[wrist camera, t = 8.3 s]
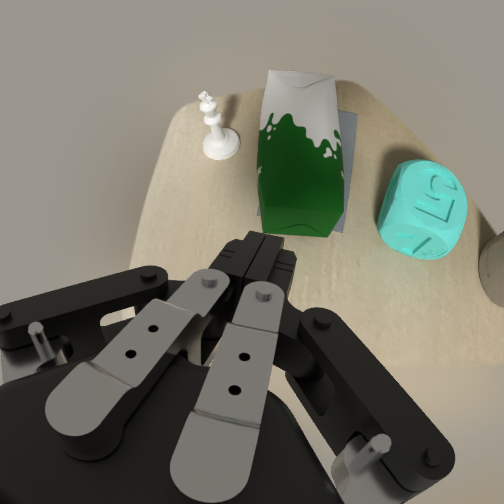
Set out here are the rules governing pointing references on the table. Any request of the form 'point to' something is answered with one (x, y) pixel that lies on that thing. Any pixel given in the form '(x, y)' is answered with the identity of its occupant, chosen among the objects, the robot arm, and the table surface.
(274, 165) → the soya milk
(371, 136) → the table surface
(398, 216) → the decorative dice
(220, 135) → the chess piece
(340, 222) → the mat
